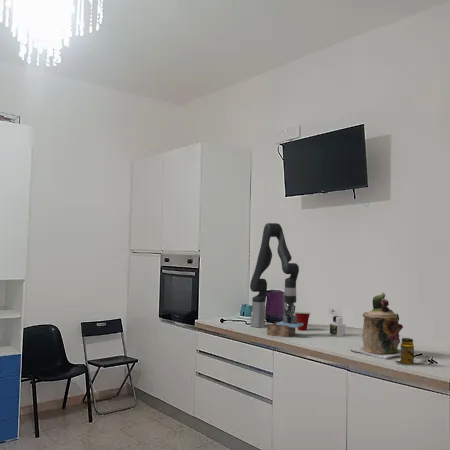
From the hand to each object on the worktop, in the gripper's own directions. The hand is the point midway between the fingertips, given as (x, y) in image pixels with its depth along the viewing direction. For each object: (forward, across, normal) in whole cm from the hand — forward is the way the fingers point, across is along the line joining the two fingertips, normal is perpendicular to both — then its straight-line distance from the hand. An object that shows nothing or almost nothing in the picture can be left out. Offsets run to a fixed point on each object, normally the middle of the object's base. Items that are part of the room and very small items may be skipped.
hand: (289, 322), depth 313 cm
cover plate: (+2, 0, 0) cm, 2 cm away
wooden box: (+8, 0, -6) cm, 10 cm away
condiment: (+9, +40, +75) cm, 85 cm away
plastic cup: (+9, -26, -1) cm, 28 cm away
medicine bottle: (+9, -19, +25) cm, 33 cm away
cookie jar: (+9, +21, +60) cm, 64 cm away
